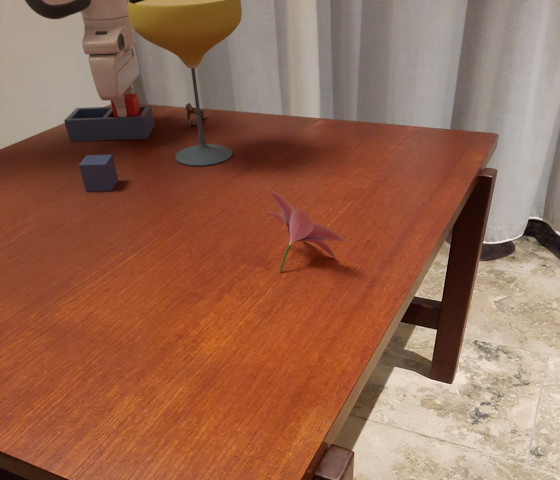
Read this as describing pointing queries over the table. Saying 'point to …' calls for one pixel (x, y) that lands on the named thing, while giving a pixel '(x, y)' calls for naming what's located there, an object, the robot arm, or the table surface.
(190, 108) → the brown lumpy upright piece
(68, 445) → the table surface
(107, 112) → the tray
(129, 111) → the red block
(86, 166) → the blue block
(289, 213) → the lily
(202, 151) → the cocktail glass
